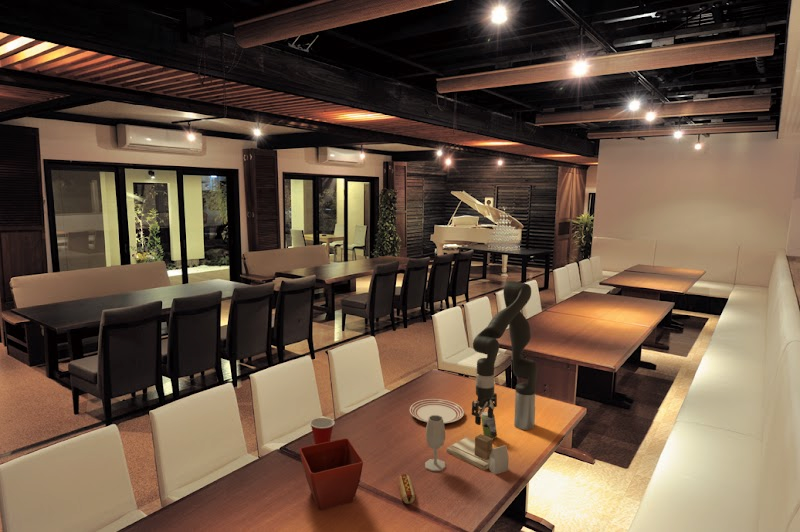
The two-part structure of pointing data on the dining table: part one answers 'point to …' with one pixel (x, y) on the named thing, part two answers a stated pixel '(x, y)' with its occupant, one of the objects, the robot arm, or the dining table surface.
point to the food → (406, 489)
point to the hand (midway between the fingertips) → (484, 421)
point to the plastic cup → (322, 429)
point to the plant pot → (332, 472)
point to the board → (468, 453)
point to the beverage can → (488, 425)
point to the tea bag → (499, 460)
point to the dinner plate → (436, 410)
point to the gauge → (483, 446)
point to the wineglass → (435, 441)
